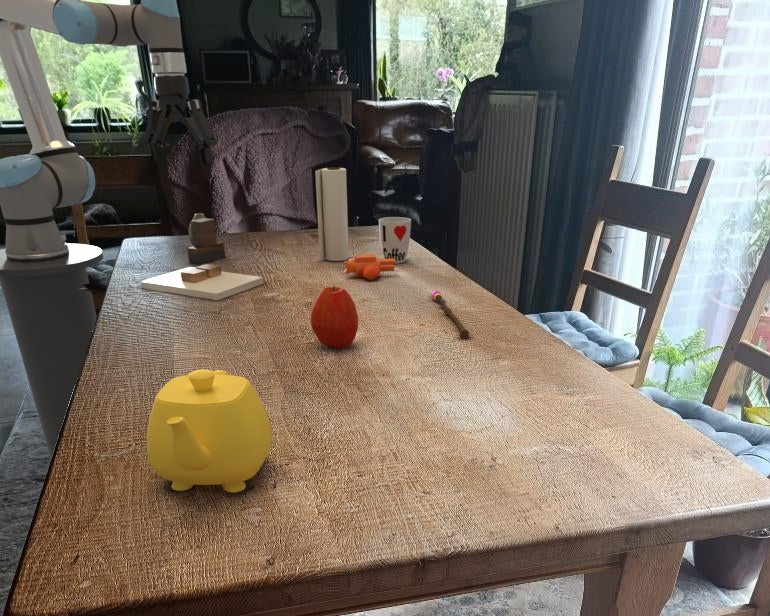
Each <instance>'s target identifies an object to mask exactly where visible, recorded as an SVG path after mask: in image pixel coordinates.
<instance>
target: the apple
mask: <svg viewBox="0 0 770 616" xmlns="http://www.w3.org/2000/svg"><path fill="white" fill-rule="evenodd" d="M310 325H311V330H312V331H313V333H314V335H315V337H316V338H317V340H318V341H319V343H320V344H321V345H324V346H326V347H329V348H334V349H342V348H345V347H348V346H351V345H352V343H353V342H354V341H355V338H356V337H357V333H358V330H359V316H358V311H357V307H356V304H355V302H354V300H353V298H352V297H351V295H350V293H349V292H348V291H347V290H346V289H344V287H339V286H338V287H337V286H336V285H335V284H333V286H329V287H324V288H323V289H322V290H321V291H320V292H319V294H318V296H317V298H315V301H314V303H313V306H312V308H311V311H310Z"/></svg>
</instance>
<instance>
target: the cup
mask: <svg viewBox="0 0 770 616" xmlns="http://www.w3.org/2000/svg"><path fill="white" fill-rule="evenodd" d="M378 228H379V229H378V233H379V241H380V248H381V252H382V256H383V259H393V258H394V260H395V265H396V264H403V263H405V262H406V258H407V256H408V252H409V245H410V241H411V229H412V219H411V218H410V217H402V216H401V217H400V216H388V217H386V216H385V217H381V218H379V219H378Z"/></svg>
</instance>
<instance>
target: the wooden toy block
mask: <svg viewBox="0 0 770 616" xmlns="http://www.w3.org/2000/svg"><path fill="white" fill-rule="evenodd" d="M192 220H193V219H192ZM192 220H190V224H191V229H192V237H193V244H194V246H193V245H192V246H189V247H187V257H188V258H187V259H188V263H189V264H193V265H204V264H207V263H209V262H213V261H215V260H216V261H217V260H219V259H223V258H225V257H226V251H225V245H224V241H218V240H217V231H216V224H215V218H208V217H207V218H206V217H205V218H202V219H197V220H193V221H192Z"/></svg>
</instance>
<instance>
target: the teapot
mask: <svg viewBox="0 0 770 616" xmlns="http://www.w3.org/2000/svg"><path fill="white" fill-rule="evenodd" d="M272 442H273V432H272V427H271V423H270V419H269V416H268V413H267V410H266V408H265V405H264V403H263V402H262V400H261V398H260V396H259V394H258V393H257V391H256V389H255V387H254V386H253V384H252V383H251V382H250V380H248V379H247V377H246V378H245V377H243V376H239V375H233V374H230V373H229V372H227V371H225V370H222V369H221V370H219V369H218V370H214V371H213V370H210V369H197V370H192V371H191V372H189V373H188V374H186V375H180V376H175V377H173V378H172V379H170V380H169V381H168V382H167V383H166V384H165V385H164V386H163V387H161V389H160V390H159V391H158V393H157V394H156V395H155V398H154V402H153V405H152V407H151V412H150V415H149V419H148V425H147V432H146V453H147V459H148V463H149V465H150V467H151V468H152V469H153V470H154V471H155V472H156V474H158V475H159V476H160V477H161V478H163V479H165V480H167V481H171V482H172V485H171V489H172V490H174V491H179V492H180V491H182V492H183V491H187V490H189V489H191V488H193V487H194V486H195V485H197V486H212V485H213V486H214V485H222V486H223V490H224V491H225V492H227V493H239V492H241V491H244V490H245V489H246V487H247V485H246V482H245V481H247V480H249V479H252V478H253V477H255V475H256V474H257V473H258V472H259V471H260V469H261V468H262V465H263V464H264V462H265V461H266V459H267V457H268V455H269V452H270V450H271V447H272Z"/></svg>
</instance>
